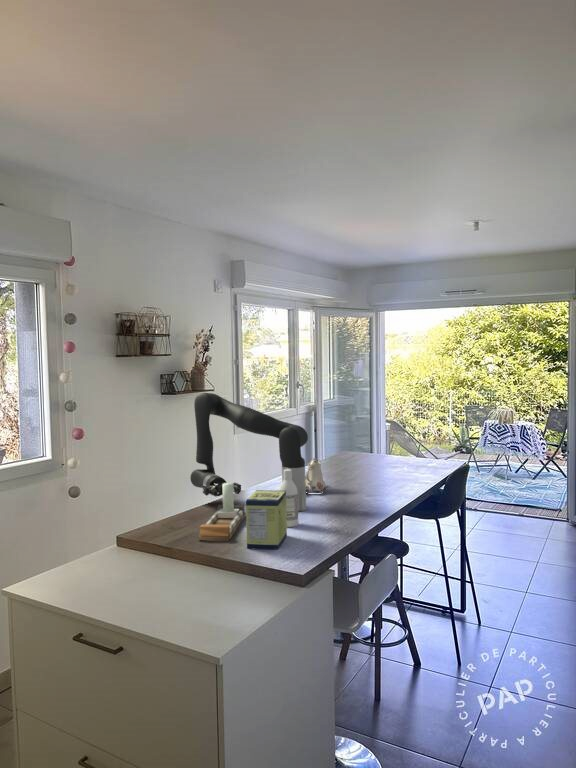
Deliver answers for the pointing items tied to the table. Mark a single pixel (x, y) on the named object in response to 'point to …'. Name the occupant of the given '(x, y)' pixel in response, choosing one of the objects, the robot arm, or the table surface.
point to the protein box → (266, 519)
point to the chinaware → (314, 477)
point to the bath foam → (290, 498)
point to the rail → (222, 522)
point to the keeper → (227, 502)
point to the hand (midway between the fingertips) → (227, 492)
